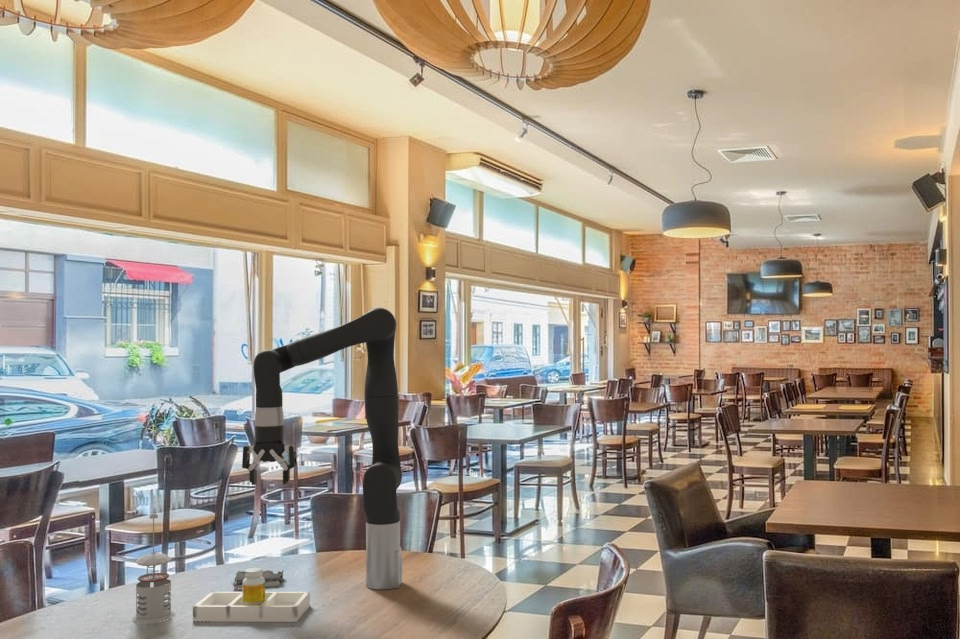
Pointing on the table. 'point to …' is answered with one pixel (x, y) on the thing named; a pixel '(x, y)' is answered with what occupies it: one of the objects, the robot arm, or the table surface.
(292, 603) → the rack
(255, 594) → the supplement bottle
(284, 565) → the table surface
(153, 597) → the french press
